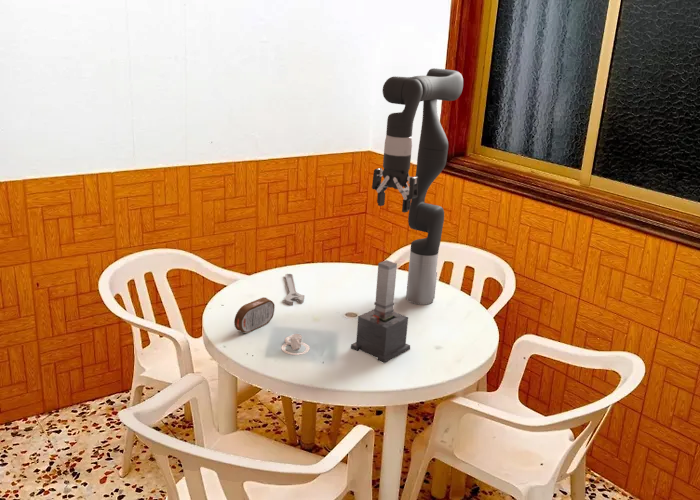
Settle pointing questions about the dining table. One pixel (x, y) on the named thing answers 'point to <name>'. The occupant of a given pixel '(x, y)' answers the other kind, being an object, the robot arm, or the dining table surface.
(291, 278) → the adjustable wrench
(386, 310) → the column
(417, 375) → the dining table surface
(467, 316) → the dining table surface
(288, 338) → the teacup and saucer
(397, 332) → the housing
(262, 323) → the tin
